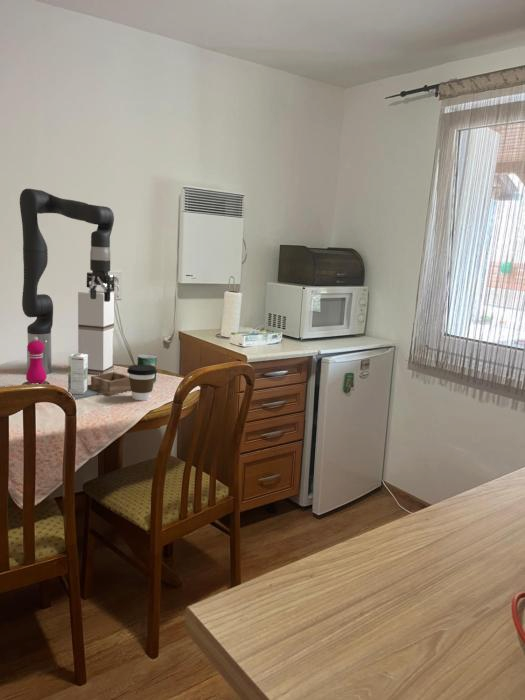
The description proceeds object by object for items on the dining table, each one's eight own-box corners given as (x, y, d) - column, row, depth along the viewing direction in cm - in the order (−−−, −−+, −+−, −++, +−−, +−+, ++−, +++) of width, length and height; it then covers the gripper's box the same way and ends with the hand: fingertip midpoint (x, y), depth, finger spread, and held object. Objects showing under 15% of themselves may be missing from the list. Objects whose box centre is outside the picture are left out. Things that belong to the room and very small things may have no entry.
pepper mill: (50, 386, 209) (49, 336, 205) (40, 391, 202) (39, 339, 198) (32, 384, 209) (31, 334, 205) (22, 389, 202) (21, 337, 198)
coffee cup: (124, 394, 204) (125, 364, 201) (153, 393, 208) (154, 363, 205) (128, 403, 194) (129, 371, 191) (158, 401, 198) (159, 370, 196)
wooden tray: (86, 388, 209) (86, 376, 208) (114, 382, 220) (115, 370, 219) (109, 396, 201) (109, 383, 200) (137, 389, 212) (138, 377, 211)
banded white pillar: (113, 369, 240) (114, 292, 233) (103, 375, 230) (103, 294, 223) (89, 367, 242) (89, 290, 235) (78, 372, 232) (78, 292, 225)
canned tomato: (133, 381, 223) (133, 355, 221) (145, 377, 230) (145, 353, 228) (148, 384, 220) (148, 358, 217) (160, 381, 226) (160, 355, 224)
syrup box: (72, 389, 204) (71, 352, 201) (88, 390, 204) (87, 353, 201) (67, 394, 198) (67, 356, 195) (84, 394, 199) (84, 356, 196)
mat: (56, 393, 200) (56, 392, 200) (81, 388, 209) (81, 386, 209) (74, 400, 194) (74, 398, 194) (99, 394, 202) (99, 392, 202)
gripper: (80, 257, 208) (81, 298, 212) (104, 260, 200) (103, 303, 204) (96, 257, 214) (96, 297, 218) (120, 260, 206) (119, 302, 209)
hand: (100, 300), depth 211 cm, fingers open, 8 cm apart
